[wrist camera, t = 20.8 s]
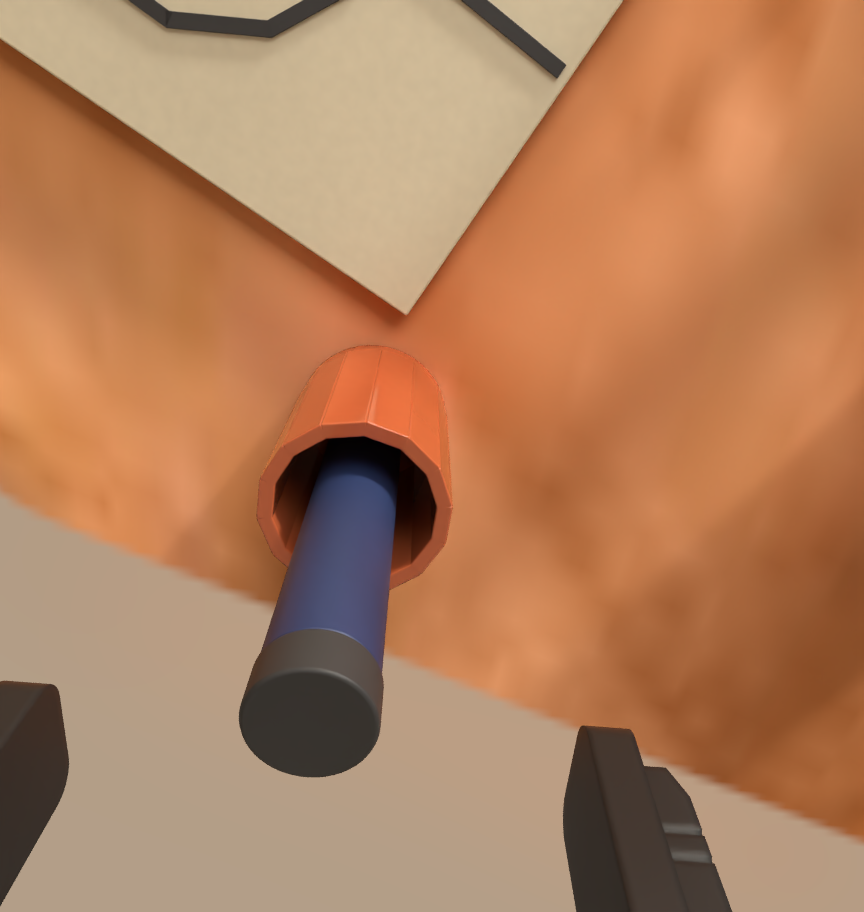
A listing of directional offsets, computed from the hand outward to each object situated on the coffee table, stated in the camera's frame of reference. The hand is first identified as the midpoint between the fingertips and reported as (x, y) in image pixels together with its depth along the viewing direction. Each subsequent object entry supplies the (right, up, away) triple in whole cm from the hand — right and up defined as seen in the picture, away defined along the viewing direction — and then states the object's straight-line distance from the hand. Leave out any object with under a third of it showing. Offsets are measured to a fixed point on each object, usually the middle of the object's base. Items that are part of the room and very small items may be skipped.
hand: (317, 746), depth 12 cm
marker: (0, +6, +13) cm, 14 cm away
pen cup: (0, +6, +14) cm, 15 cm away
